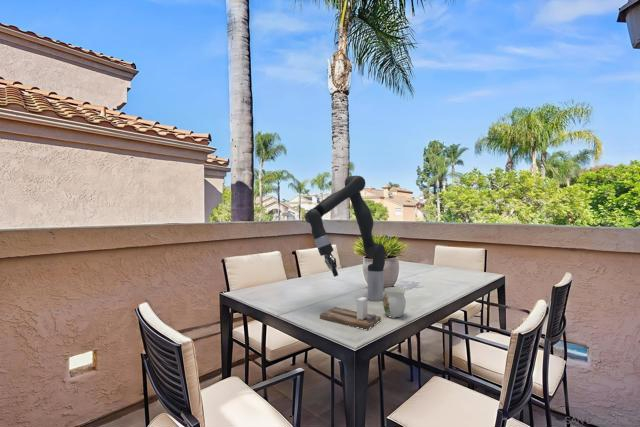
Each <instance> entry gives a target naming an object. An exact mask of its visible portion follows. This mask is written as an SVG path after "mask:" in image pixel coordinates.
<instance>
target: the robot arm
mask: <svg viewBox="0 0 640 427" xmlns="http://www.w3.org/2000/svg"><path fill="white" fill-rule="evenodd" d="M365 187H366V180H365V177H363V176H360V175H349V176H347V177H346V178H345V180H344V187H342V188H341V189H340V190H338V191H335V192H333V193H332V194H329V195H328V196H326V198H324V199H322V200H321V201H320V202H319V203H318V204H317V205H315V206H314V207H312V208H311V209H309V210H308V211H307V212H306V213H304V214H305V215H304V220H305V222H307V223H308V224H310V227H311V234H312V236H313V239H314V242H315V246H316V248H317V251H318V253H319V255H320V257H323V256H324V257H323V258H324V263H325V265H326V266H327V268H328V269H329V270H330V271H331V273H332V275H333V277H335V278H336V277H338V276H339V273H338V270H337V258H336V257H334V255H333V254H332V252H334V248H333V246H332V243H331V241H330V238H329V235H327V232H326V229H325V227H324V222H323V220H322V217H323V216H325V215H327V214H328V213H330V212H331V211H332V210H333V209H335V208H336V207H337V206H339V205H340V204H341V203H343V202H344V201H346V200H348V199H349V200H350V202H351V205H352V209H353V213H354V216H355V218H356V219H355V220H356V222H357V225H358V229H359V232H360V235H361V240H362V243H363V244H362V245H363V249H364V254H365V255H366V257H368V258H370V259H372V262H371V263H369V264H368V265H367V300H369V301H371V302H372V301H373V302H382V301H383V298H384V267H385V265H386V262H385V261H386V248H385V246H384V245H383V244H382V243H377V242H375V240H374V239H373V233H372V232H373V229H374V228H373V227H374V218H373V214H372V212H371V210H370V207H369V206H368V205H367V203H366V202H365V201H364V198H363V197H362V194H361V191H363V190H364V189H365ZM381 300H382V301H381Z"/></svg>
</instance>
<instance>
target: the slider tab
mask: <svg viewBox="0 0 640 427" xmlns="http://www.w3.org/2000/svg"><path fill="white" fill-rule="evenodd" d="M356 312H357V319H361V320H363V319H365V318H366V317H367V314H368V297H363V296H361V297H359V298H357V299H356Z"/></svg>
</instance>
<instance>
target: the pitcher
mask: <svg viewBox="0 0 640 427" xmlns="http://www.w3.org/2000/svg"><path fill="white" fill-rule="evenodd" d="M405 292H406V290H405V289H404V288H402V287H397V286H396V287H395V286H394V287H393V286H391V287H385V288H383V300H382V301H383V302H382V304H383V309H384V312H385V314H386V315H387V317H388V316H391V317H400V316H401V317H402V316H403V315H404V312H405V310H406V298H405ZM391 317H390V318H391ZM401 317H400V318H401Z"/></svg>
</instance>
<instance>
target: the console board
mask: <svg viewBox="0 0 640 427" xmlns="http://www.w3.org/2000/svg"><path fill="white" fill-rule="evenodd" d="M319 319H321V320H323V321H328V322H333V323H336V324H340V325H344V326H348V325H349V326H348V327H352V326H354V327H353V328H356V327H359V328H358V329H360V328H363V329H362V330H364V329H369V328H370V327H372V326H373V325H374V324H376V323H377V322H378V321H380V320H382V318H381V316H378V315H377V314H373V313H372V314H370V313H367V317H366V318H365V319H363V320H361V319H357V310H356V311H355V310H351V309H346V308H342V307H338V306H334V307H332V308H330V309H327V310H326V311H324V312H322V313H320V314H319ZM380 322H381V321H380ZM377 324H378V323H377ZM377 324H376V325H377ZM373 327H374V326H373ZM373 327H372V328H373ZM370 329H371V328H370ZM370 329H369V330H370Z"/></svg>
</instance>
